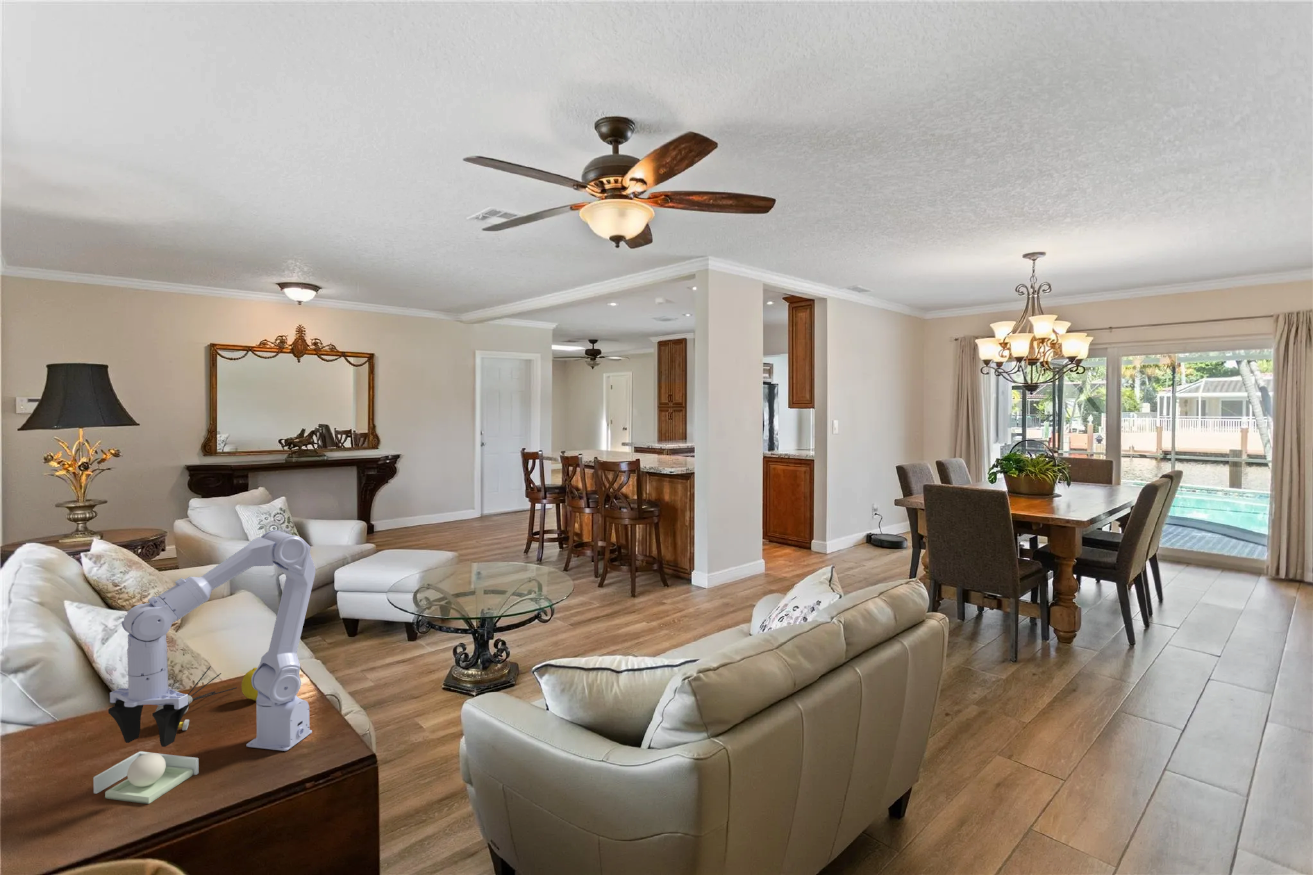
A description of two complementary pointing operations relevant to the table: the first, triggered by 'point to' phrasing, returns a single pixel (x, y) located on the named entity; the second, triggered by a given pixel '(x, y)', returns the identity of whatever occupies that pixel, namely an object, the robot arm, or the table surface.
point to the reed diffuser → (185, 724)
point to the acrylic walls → (122, 768)
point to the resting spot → (149, 787)
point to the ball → (146, 769)
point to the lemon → (249, 686)
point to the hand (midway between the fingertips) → (150, 741)
